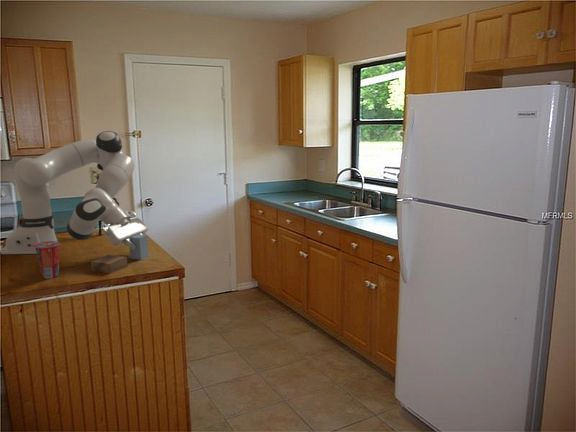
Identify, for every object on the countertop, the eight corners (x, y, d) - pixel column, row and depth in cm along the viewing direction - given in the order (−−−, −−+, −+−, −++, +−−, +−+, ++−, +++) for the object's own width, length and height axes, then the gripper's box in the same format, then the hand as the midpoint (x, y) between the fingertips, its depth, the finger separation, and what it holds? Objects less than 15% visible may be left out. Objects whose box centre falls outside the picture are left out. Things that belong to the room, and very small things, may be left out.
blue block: (130, 258, 192) (128, 237, 190) (138, 255, 197) (136, 234, 195) (141, 259, 191) (139, 238, 189) (148, 256, 195) (146, 235, 193)
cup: (58, 270, 178) (54, 239, 176) (67, 275, 172) (64, 243, 170) (31, 276, 171) (27, 244, 169) (40, 282, 166) (36, 249, 163)
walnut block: (91, 271, 178) (90, 261, 177) (109, 264, 186) (108, 254, 185) (110, 274, 174) (109, 263, 174) (127, 267, 182) (126, 257, 182)
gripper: (104, 221, 183) (128, 247, 182) (136, 211, 202) (158, 235, 201) (96, 231, 185) (119, 258, 184) (128, 220, 204) (150, 244, 203)
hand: (140, 246), depth 192 cm, fingers closed on blue block, 5 cm apart
